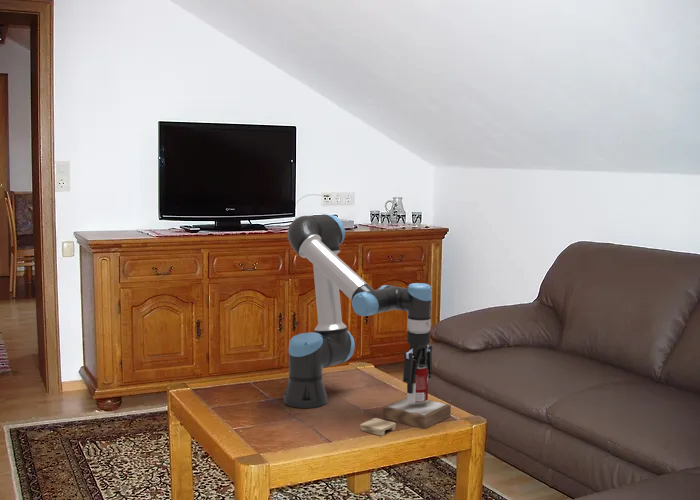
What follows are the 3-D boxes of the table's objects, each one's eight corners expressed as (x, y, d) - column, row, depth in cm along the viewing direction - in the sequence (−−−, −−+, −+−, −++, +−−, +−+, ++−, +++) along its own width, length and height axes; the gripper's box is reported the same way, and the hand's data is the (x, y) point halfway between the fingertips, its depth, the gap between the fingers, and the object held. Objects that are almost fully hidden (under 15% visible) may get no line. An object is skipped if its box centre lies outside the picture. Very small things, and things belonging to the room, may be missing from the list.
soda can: (426, 405, 249) (427, 368, 247) (405, 403, 250) (406, 367, 249) (428, 398, 255) (429, 363, 254) (408, 397, 257) (409, 362, 255)
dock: (383, 418, 252) (383, 406, 251) (409, 406, 264) (410, 394, 264) (424, 428, 242) (425, 416, 242) (450, 415, 255) (450, 404, 254)
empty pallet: (360, 430, 240) (360, 424, 240) (375, 423, 246) (375, 417, 246) (381, 436, 235) (381, 429, 235) (395, 429, 242) (395, 423, 241)
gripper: (412, 338, 240) (410, 409, 243) (444, 327, 255) (442, 394, 258) (392, 334, 244) (391, 404, 247) (425, 324, 260) (423, 390, 263)
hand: (417, 399), depth 253 cm, fingers closed on soda can, 7 cm apart
